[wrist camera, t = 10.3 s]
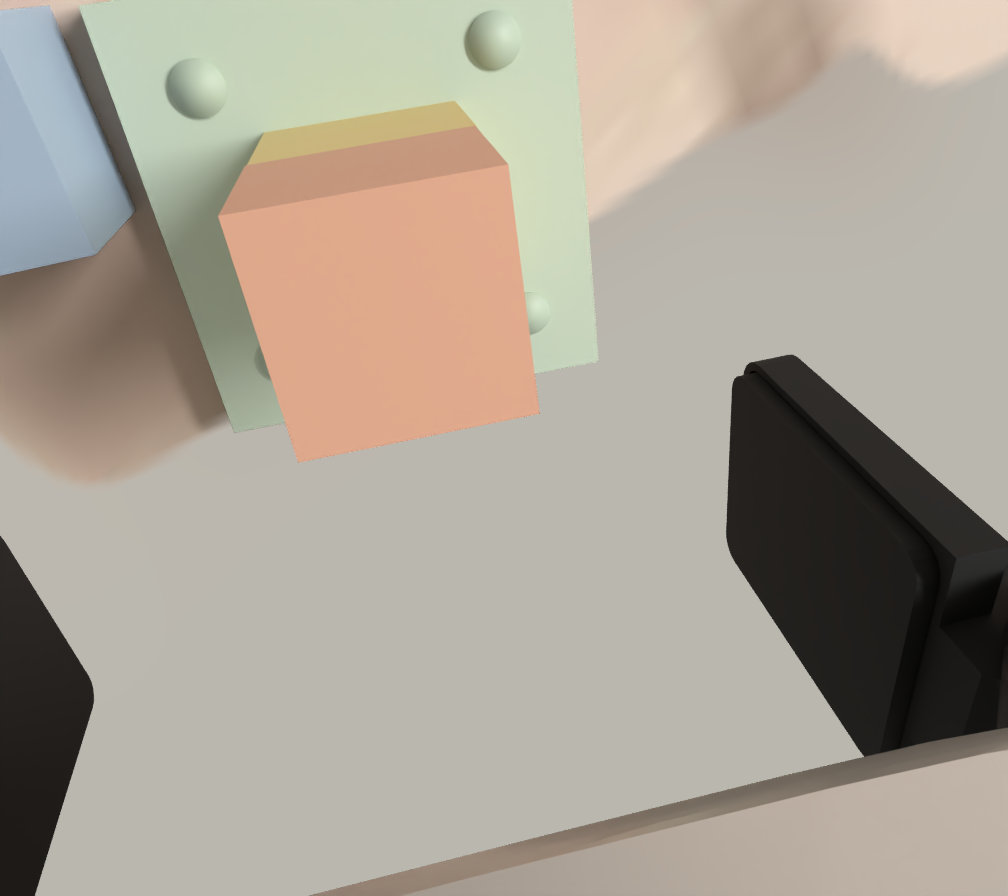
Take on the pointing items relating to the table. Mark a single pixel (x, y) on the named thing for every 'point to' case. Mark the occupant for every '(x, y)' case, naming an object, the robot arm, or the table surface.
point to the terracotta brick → (385, 289)
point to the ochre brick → (359, 131)
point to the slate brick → (50, 152)
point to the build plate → (335, 96)
